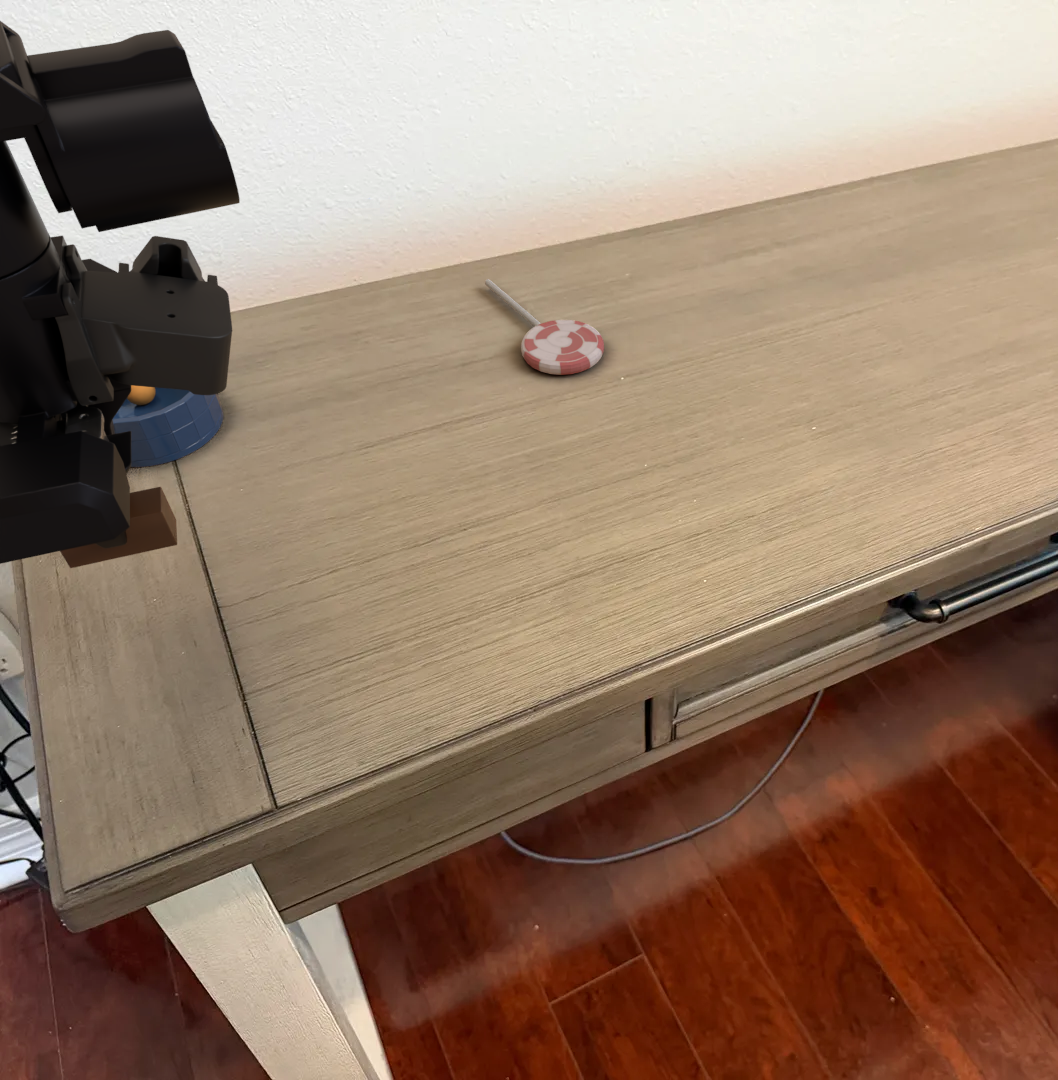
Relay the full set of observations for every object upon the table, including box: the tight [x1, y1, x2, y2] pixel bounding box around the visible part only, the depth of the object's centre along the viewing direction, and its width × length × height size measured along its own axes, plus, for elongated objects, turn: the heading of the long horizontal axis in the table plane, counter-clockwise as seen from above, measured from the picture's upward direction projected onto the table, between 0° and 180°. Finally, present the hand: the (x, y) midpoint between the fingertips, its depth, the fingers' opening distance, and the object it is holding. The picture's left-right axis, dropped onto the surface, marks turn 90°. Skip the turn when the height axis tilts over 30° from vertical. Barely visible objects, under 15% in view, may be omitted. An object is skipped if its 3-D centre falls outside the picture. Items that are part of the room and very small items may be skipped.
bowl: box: [113, 387, 224, 468], centre depth 74 cm, size 9×9×4 cm
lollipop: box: [484, 278, 605, 376], centre depth 85 cm, size 7×1×15 cm
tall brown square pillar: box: [59, 486, 178, 569], centre depth 52 cm, size 2×5×2 cm, turn 112°
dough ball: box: [127, 385, 156, 405], centre depth 75 cm, size 2×2×2 cm
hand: (116, 529), depth 53 cm, fingers closed on tall brown square pillar, 2 cm apart
